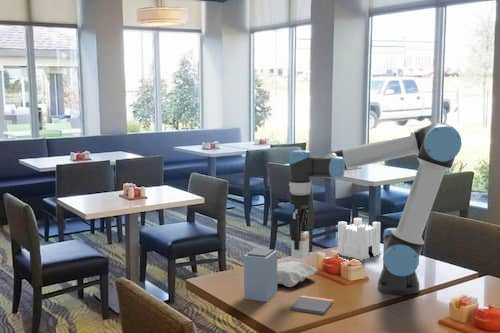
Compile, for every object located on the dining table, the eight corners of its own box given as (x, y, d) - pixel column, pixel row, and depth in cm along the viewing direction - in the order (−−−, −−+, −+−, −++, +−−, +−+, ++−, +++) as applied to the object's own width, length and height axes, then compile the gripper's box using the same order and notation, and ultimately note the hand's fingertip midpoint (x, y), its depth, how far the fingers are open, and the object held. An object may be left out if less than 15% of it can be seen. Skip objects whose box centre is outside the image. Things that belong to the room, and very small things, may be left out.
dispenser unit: (277, 292, 215) (277, 249, 213) (267, 301, 206) (267, 256, 204) (253, 289, 219) (252, 246, 217) (242, 298, 210) (242, 253, 208)
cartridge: (309, 255, 213) (309, 231, 212) (304, 259, 208) (304, 234, 207) (295, 253, 215) (295, 230, 214) (291, 257, 210) (291, 233, 209)
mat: (333, 302, 205) (333, 299, 205) (324, 314, 194) (324, 311, 194) (301, 298, 210) (301, 295, 210) (290, 309, 199) (290, 306, 199)
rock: (248, 265, 232) (306, 251, 238) (250, 281, 234) (308, 268, 240) (262, 282, 214) (324, 267, 220) (264, 299, 216) (326, 284, 221)
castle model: (356, 248, 274) (357, 217, 272) (381, 254, 264) (381, 222, 262) (336, 254, 265) (337, 222, 263) (361, 260, 254) (361, 227, 252)
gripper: (298, 188, 218) (298, 248, 221) (281, 196, 202) (281, 261, 205) (317, 189, 215) (317, 250, 218) (301, 198, 199) (301, 263, 202)
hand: (300, 255), depth 212 cm, fingers closed on cartridge, 5 cm apart
